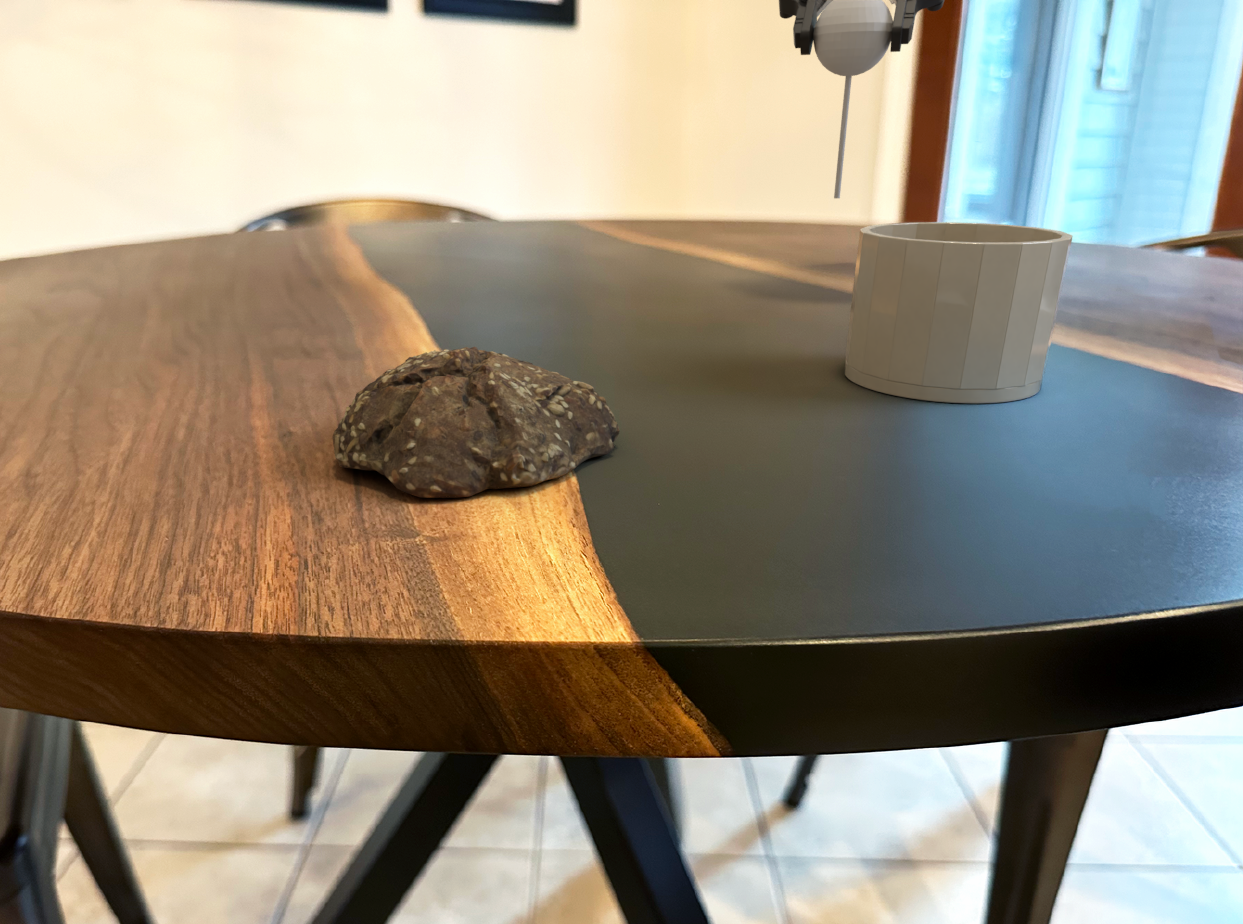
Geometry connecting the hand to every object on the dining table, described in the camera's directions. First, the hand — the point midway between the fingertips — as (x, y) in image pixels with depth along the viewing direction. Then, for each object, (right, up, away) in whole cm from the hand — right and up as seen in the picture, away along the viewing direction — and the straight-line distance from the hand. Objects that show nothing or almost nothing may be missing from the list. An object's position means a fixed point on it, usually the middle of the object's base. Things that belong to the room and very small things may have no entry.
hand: (849, 43), depth 72 cm
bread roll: (-27, -33, -27) cm, 51 cm away
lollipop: (+1, -10, +6) cm, 12 cm away
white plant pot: (0, -28, -15) cm, 32 cm away
